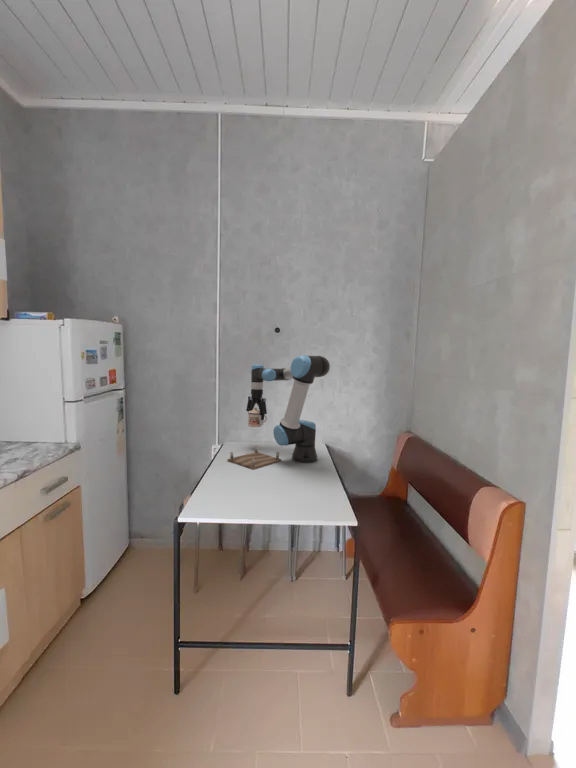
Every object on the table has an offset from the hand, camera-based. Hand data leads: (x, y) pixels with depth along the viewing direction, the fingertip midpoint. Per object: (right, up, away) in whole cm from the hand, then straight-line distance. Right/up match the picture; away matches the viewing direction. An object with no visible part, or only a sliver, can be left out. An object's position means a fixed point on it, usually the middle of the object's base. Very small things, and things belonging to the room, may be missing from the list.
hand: (256, 423), depth 250 cm
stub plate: (+1, -19, -25) cm, 31 cm away
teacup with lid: (+1, -2, -1) cm, 2 cm away
